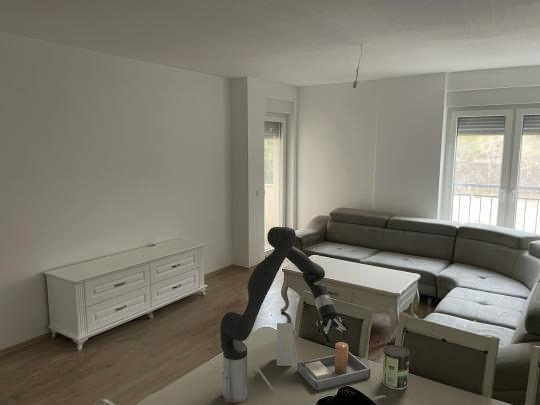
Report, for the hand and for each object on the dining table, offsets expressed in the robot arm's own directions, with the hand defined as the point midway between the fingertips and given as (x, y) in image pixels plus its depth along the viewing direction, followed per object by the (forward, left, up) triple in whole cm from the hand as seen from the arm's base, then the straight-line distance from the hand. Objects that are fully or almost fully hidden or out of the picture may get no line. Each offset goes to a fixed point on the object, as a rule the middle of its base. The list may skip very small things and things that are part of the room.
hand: (338, 341), depth 178 cm
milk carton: (-19, +14, -13) cm, 27 cm away
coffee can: (+17, -17, -13) cm, 28 cm away
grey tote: (-4, -3, -13) cm, 14 cm away
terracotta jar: (0, -3, -12) cm, 12 cm away
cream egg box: (-11, -3, -12) cm, 17 cm away
